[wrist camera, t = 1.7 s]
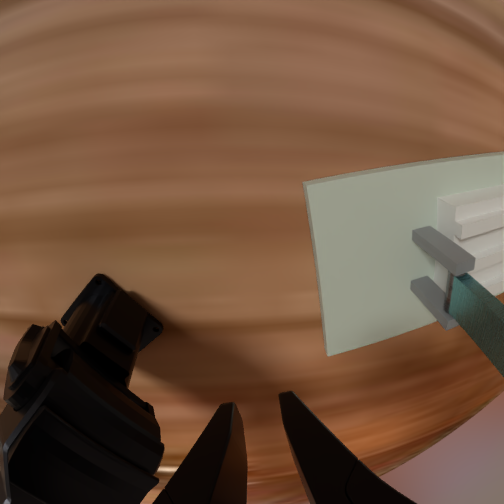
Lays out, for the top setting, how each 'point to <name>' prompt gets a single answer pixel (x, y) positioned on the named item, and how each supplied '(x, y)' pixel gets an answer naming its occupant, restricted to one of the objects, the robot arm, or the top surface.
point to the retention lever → (477, 315)
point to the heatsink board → (403, 243)
